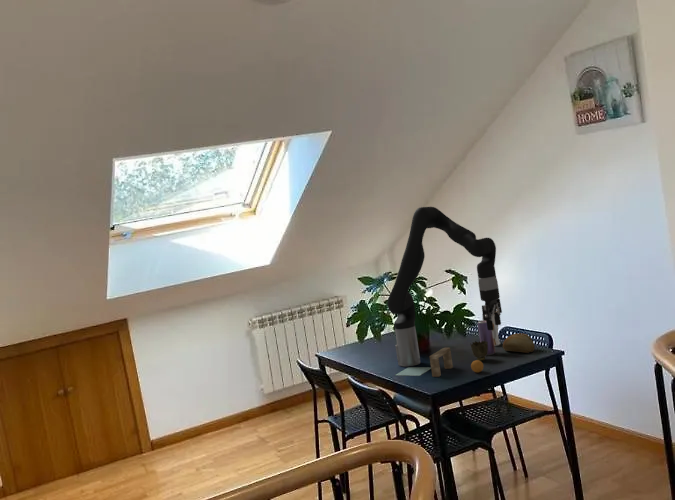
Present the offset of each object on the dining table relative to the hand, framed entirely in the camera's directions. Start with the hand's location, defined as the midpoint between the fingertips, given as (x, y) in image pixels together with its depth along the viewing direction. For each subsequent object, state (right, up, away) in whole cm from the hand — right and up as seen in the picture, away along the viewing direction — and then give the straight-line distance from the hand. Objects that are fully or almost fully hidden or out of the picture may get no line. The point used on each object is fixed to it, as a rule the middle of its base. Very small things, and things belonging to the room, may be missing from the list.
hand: (494, 327), depth 293 cm
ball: (-6, -17, +6) cm, 19 cm away
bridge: (-19, -21, +15) cm, 32 cm away
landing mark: (-30, -22, +23) cm, 44 cm away
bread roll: (+18, -14, +30) cm, 38 cm away
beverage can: (+5, -16, +34) cm, 38 cm away
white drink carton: (+10, -14, +50) cm, 53 cm away
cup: (0, -17, +25) cm, 30 cm away
